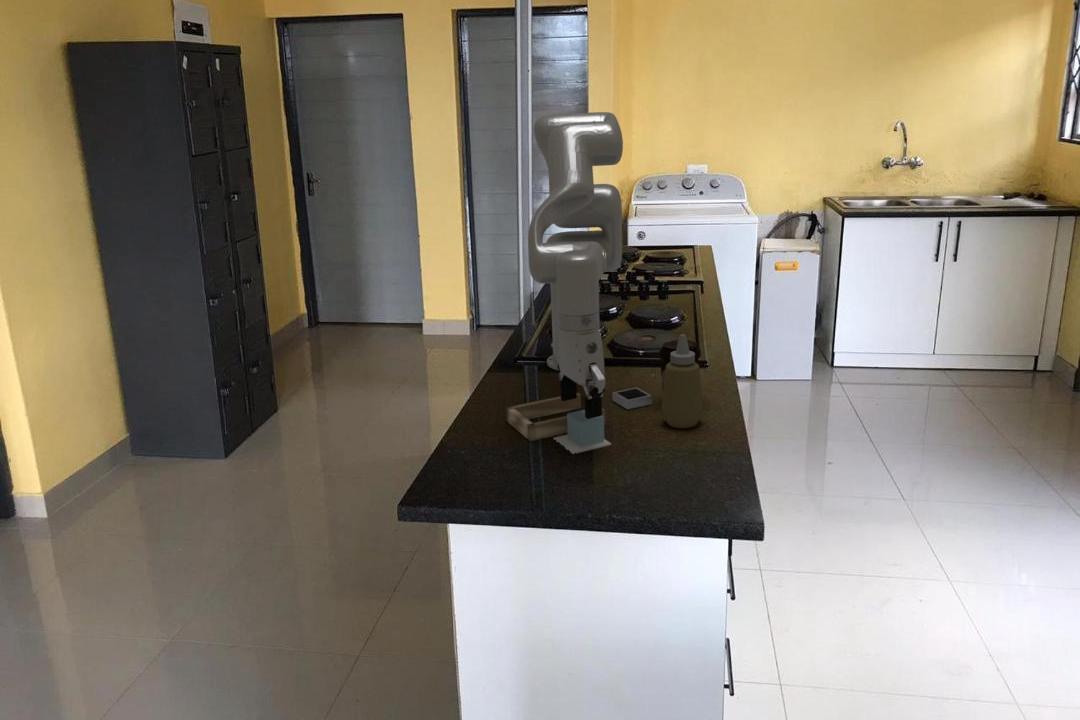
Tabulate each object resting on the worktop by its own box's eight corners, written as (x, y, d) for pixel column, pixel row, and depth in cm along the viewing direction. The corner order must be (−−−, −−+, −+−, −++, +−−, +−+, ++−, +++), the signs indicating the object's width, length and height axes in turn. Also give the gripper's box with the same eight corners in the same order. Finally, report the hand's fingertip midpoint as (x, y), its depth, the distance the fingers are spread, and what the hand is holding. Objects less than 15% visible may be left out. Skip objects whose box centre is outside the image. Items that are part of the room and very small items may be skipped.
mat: (553, 439, 164) (553, 437, 164) (590, 430, 167) (590, 429, 167) (572, 454, 157) (572, 452, 157) (611, 445, 161) (611, 443, 160)
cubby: (506, 421, 174) (506, 407, 173) (578, 406, 180) (577, 392, 179) (530, 441, 164) (529, 426, 163) (605, 424, 170) (605, 410, 169)
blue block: (567, 438, 164) (567, 413, 162) (590, 432, 166) (590, 408, 164) (581, 447, 159) (580, 422, 158) (604, 441, 161) (603, 416, 160)
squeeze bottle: (653, 420, 171) (653, 333, 165) (688, 413, 174) (689, 326, 168) (675, 434, 164) (675, 343, 158) (711, 426, 167) (713, 337, 161)
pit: (612, 401, 182) (612, 392, 181) (637, 396, 184) (637, 387, 184) (627, 410, 177) (627, 401, 176) (652, 404, 179) (652, 395, 179)
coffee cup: (699, 412, 174) (700, 350, 170) (657, 411, 176) (657, 349, 172) (700, 397, 182) (701, 337, 178) (660, 395, 184) (660, 337, 180)
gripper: (621, 329, 149) (622, 420, 155) (574, 305, 164) (577, 389, 170) (582, 336, 146) (585, 428, 152) (538, 311, 161) (542, 396, 167)
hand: (580, 407), depth 161 cm, fingers open, 9 cm apart
